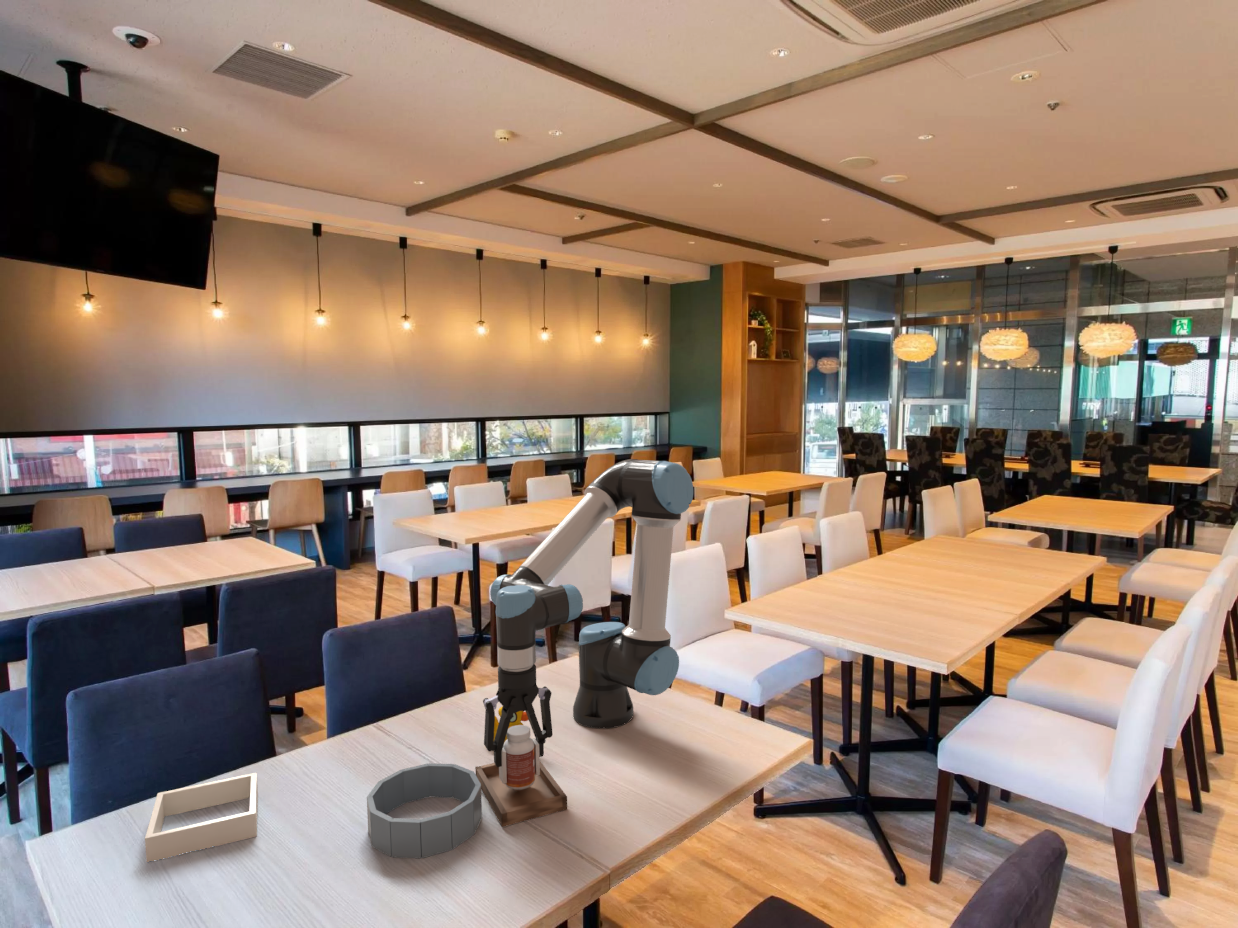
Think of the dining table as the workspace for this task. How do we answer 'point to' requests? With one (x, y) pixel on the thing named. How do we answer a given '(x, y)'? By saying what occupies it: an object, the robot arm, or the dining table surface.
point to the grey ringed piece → (432, 831)
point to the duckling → (514, 721)
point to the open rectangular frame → (204, 832)
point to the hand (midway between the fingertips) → (519, 775)
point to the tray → (521, 796)
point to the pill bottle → (519, 758)
